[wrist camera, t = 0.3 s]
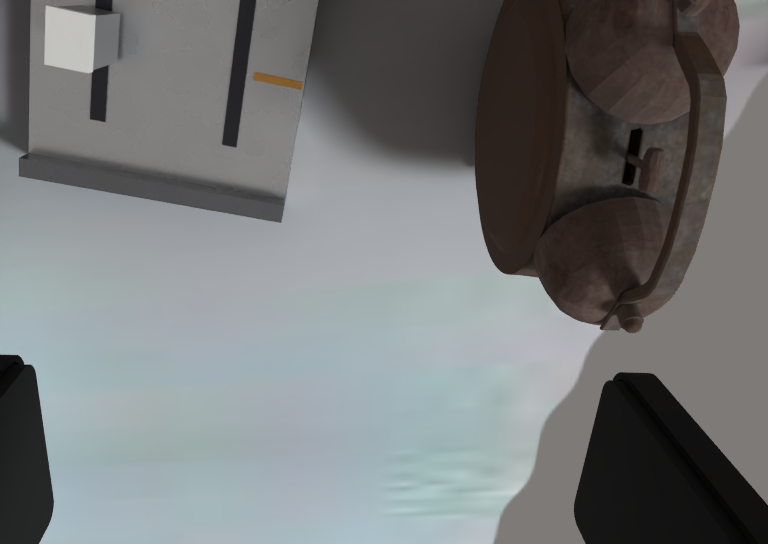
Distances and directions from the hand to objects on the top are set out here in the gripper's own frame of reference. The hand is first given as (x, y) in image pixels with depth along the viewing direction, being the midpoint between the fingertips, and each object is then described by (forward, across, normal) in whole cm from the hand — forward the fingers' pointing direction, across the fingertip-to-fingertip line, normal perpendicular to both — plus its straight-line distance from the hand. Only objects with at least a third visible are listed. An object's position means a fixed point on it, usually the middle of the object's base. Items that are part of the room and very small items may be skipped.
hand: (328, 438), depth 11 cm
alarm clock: (+30, -12, -2) cm, 32 cm away
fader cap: (+27, +12, -4) cm, 30 cm away
